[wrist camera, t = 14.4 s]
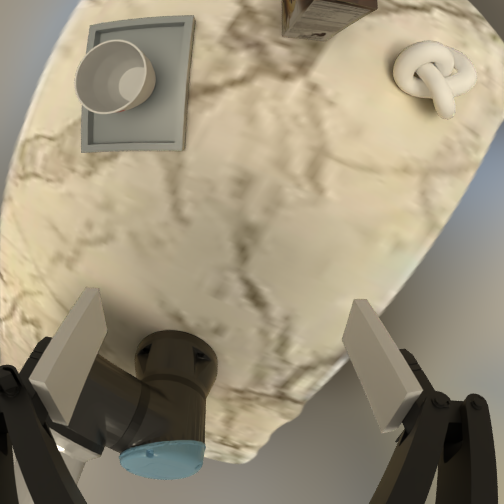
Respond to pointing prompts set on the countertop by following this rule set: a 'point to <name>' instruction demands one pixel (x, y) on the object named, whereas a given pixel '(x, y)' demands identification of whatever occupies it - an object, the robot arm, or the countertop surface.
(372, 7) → the coffee box
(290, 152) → the countertop surface
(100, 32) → the tray
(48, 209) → the countertop surface
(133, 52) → the cup
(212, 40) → the countertop surface
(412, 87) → the white decorative knot
